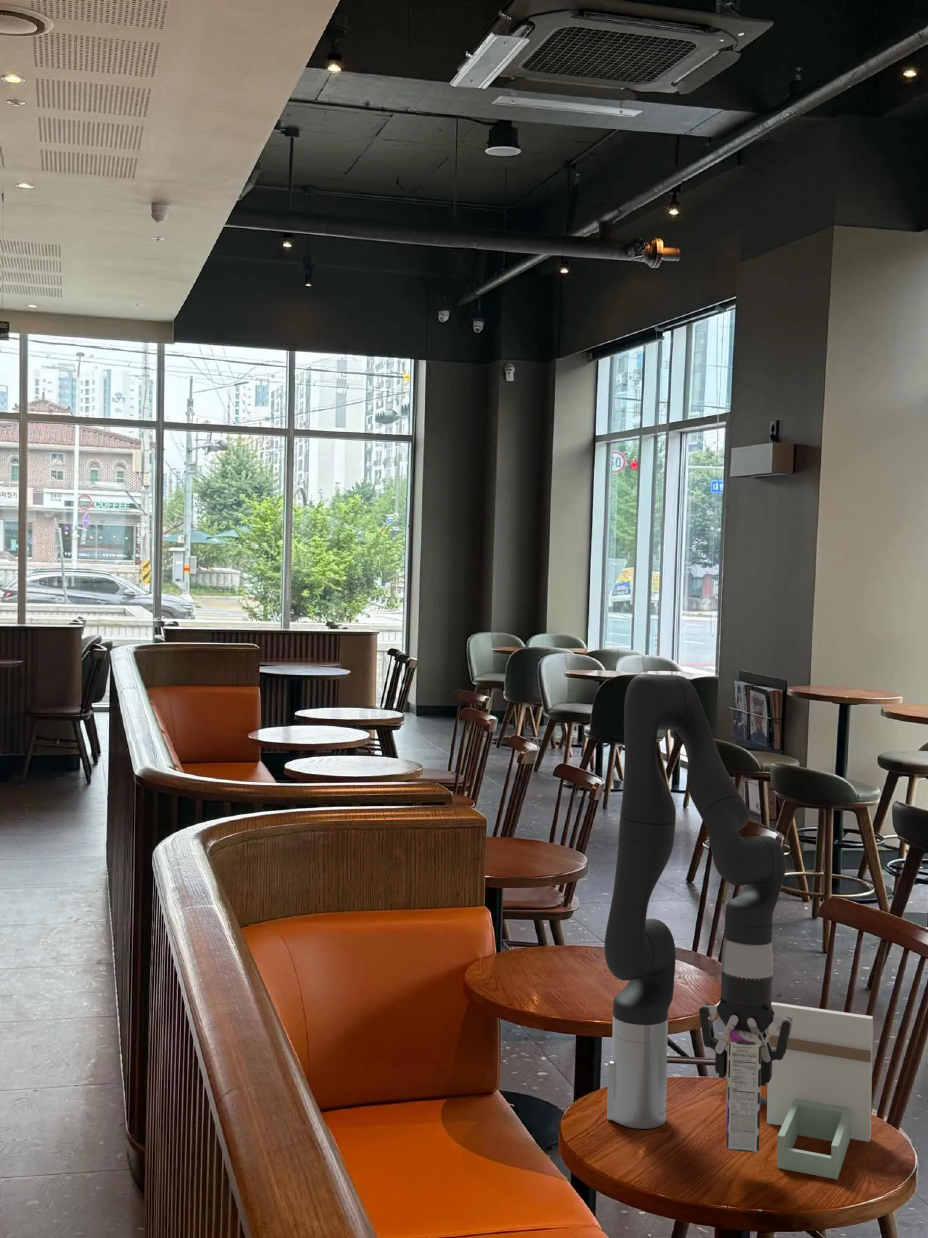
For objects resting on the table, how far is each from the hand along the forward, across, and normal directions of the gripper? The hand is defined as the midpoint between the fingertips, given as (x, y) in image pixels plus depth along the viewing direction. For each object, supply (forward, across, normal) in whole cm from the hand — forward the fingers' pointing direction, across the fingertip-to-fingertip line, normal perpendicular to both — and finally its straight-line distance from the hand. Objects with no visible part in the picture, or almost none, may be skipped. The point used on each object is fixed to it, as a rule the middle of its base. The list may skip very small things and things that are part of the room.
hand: (743, 1080), depth 184 cm
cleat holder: (+15, +8, +15) cm, 23 cm away
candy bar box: (+9, 0, 0) cm, 9 cm away
